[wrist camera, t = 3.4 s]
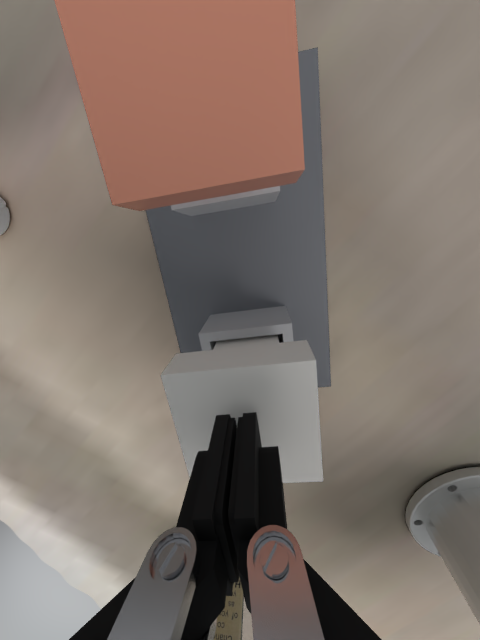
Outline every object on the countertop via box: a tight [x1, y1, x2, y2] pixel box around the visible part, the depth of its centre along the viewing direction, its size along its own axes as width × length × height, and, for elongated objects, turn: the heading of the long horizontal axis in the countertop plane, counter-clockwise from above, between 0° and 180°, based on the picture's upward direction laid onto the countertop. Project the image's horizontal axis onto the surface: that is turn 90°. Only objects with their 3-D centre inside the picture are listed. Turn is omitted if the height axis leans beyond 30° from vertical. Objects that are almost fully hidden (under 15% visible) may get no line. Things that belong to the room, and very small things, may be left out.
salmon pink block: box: [55, 0, 305, 211], centre depth 10 cm, size 6×6×6 cm
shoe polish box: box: [214, 577, 244, 640], centre depth 25 cm, size 5×5×12 cm
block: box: [146, 47, 331, 387], centre depth 17 cm, size 12×22×6 cm, turn 8°
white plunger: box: [161, 334, 323, 483], centre depth 14 cm, size 6×6×6 cm
